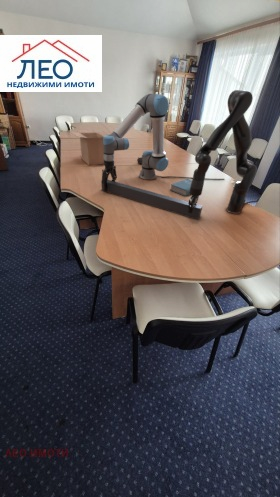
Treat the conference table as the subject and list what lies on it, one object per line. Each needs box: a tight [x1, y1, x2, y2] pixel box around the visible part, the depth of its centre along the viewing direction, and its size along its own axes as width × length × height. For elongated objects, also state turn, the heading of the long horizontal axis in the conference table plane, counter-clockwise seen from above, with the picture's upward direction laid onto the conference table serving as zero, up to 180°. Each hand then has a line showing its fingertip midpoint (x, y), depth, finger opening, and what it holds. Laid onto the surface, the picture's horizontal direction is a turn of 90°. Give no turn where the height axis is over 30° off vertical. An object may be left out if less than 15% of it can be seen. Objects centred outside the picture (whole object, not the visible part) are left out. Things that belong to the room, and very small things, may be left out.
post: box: [100, 179, 203, 220], centre depth 159 cm, size 79×5×8 cm, turn 60°
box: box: [70, 129, 109, 166], centre depth 229 cm, size 44×36×27 cm
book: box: [170, 178, 192, 197], centre depth 184 cm, size 23×16×5 cm
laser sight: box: [136, 154, 143, 165], centre depth 236 cm, size 10×22×10 cm, turn 78°
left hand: (109, 189), depth 173 cm, fingers open, 9 cm apart
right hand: (191, 211), depth 147 cm, fingers closed on post, 5 cm apart
